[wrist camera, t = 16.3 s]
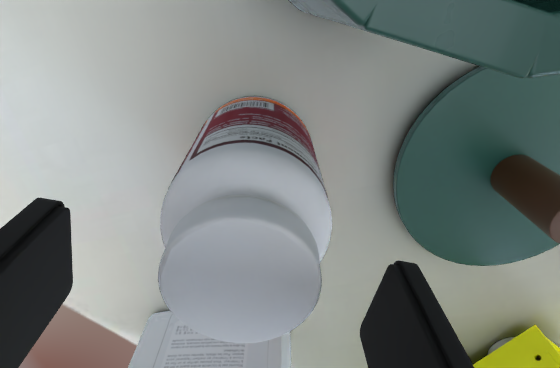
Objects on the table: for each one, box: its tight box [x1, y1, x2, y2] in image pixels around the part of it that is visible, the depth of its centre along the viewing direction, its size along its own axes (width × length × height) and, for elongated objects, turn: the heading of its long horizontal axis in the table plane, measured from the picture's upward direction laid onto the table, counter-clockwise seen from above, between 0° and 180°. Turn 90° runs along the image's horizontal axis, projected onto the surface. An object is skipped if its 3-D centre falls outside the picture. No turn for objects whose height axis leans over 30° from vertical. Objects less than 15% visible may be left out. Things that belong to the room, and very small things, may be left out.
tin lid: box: [393, 66, 560, 266], centre depth 18 cm, size 13×13×6 cm
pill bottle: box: [158, 96, 332, 343], centre depth 15 cm, size 6×6×11 cm
